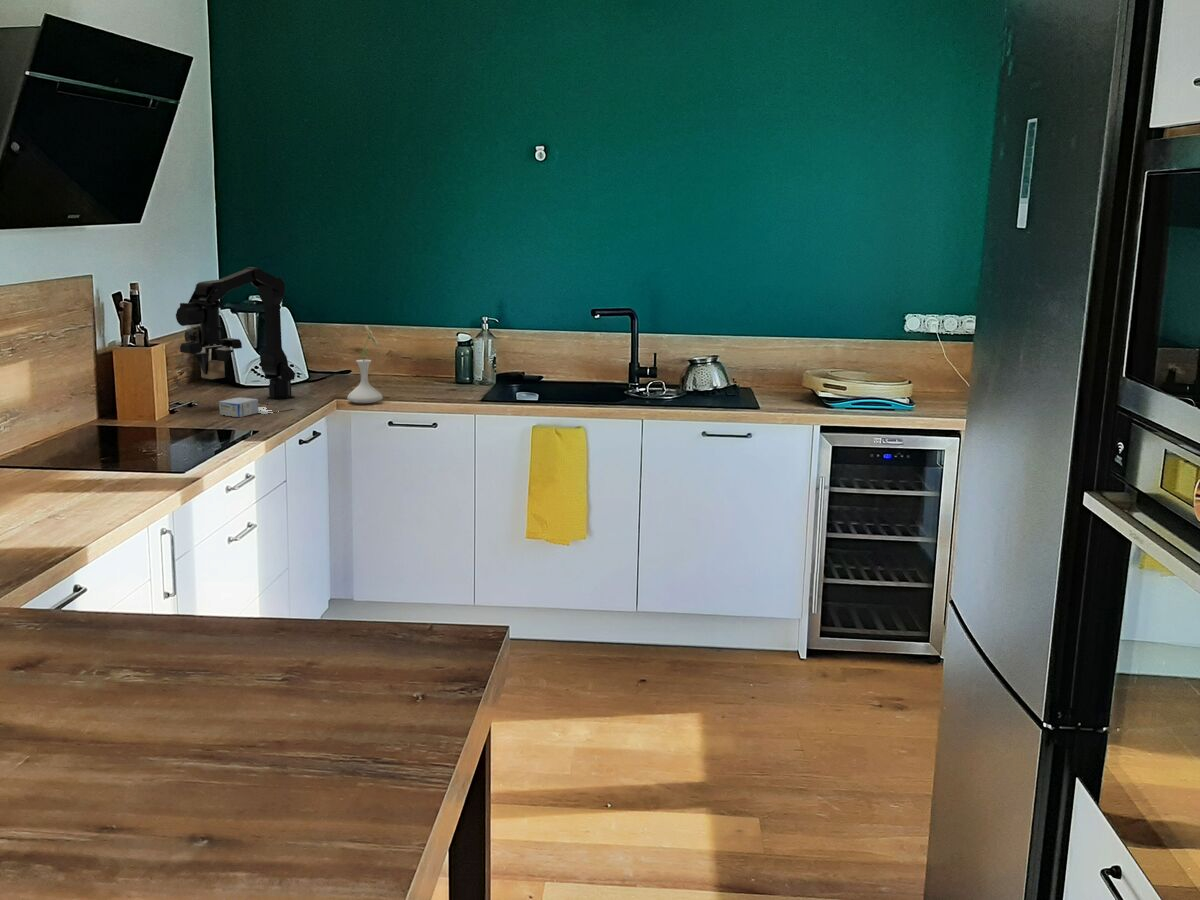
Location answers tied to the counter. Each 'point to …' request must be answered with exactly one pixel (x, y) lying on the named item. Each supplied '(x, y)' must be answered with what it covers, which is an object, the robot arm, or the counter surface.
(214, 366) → the walnut block
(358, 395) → the flower in vase
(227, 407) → the medicine box
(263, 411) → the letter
